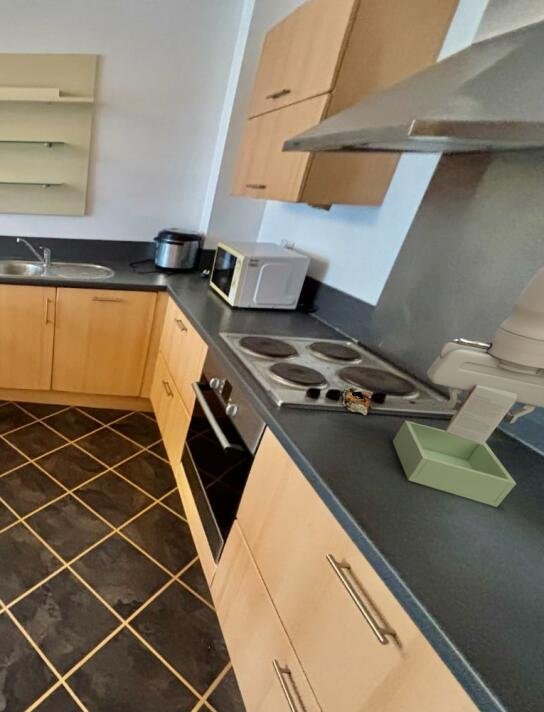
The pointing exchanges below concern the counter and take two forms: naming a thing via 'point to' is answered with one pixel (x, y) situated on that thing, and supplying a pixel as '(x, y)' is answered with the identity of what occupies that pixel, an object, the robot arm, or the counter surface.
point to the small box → (481, 413)
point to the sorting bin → (452, 464)
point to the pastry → (356, 400)
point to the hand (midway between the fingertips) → (478, 414)
